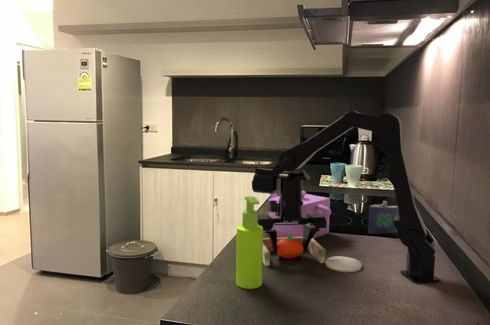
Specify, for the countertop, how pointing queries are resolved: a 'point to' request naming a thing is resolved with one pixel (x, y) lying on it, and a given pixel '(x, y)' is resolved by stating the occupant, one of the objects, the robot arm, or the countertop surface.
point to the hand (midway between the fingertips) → (289, 252)
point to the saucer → (343, 264)
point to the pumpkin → (289, 247)
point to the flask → (382, 219)
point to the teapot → (304, 215)
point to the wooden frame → (312, 247)
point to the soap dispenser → (249, 248)
